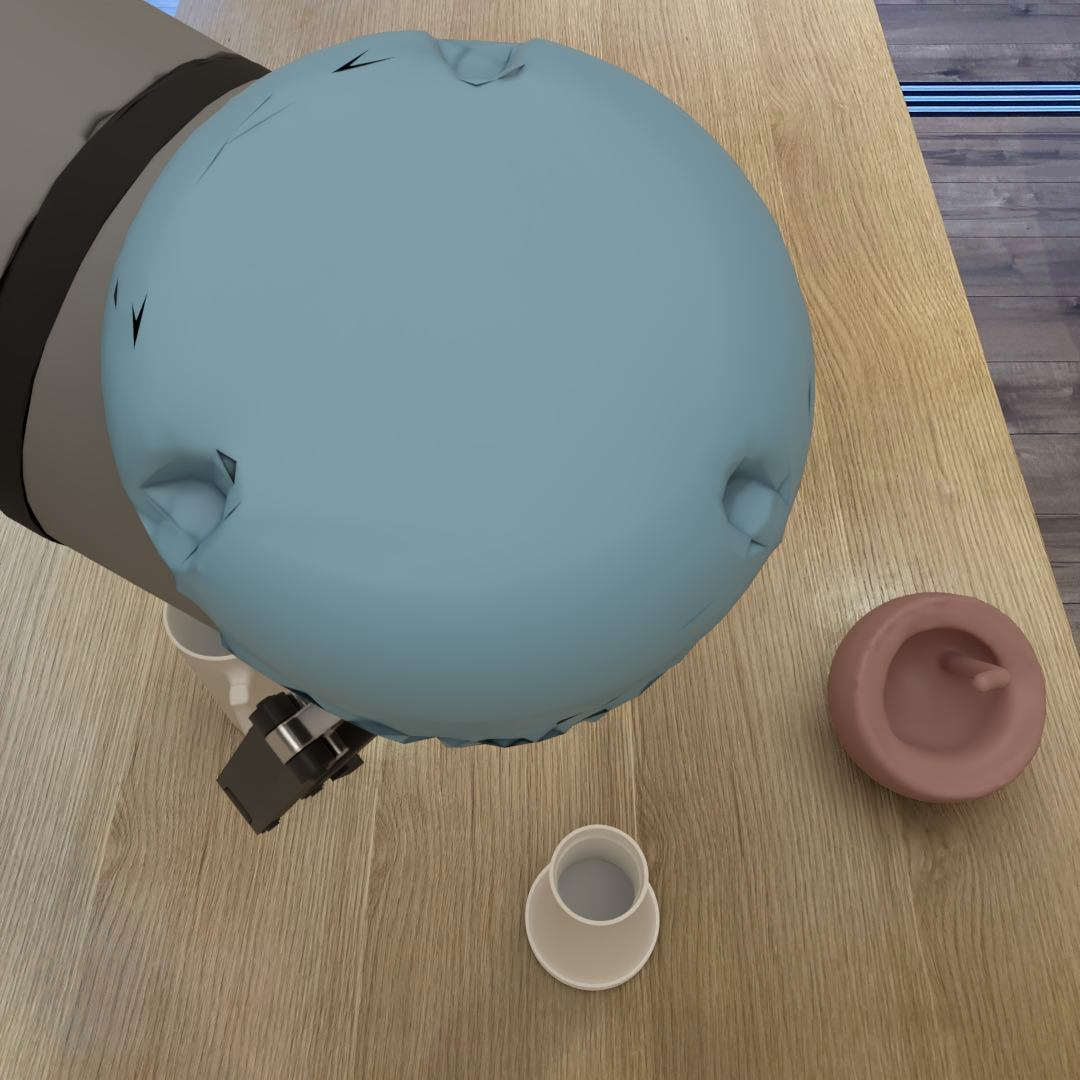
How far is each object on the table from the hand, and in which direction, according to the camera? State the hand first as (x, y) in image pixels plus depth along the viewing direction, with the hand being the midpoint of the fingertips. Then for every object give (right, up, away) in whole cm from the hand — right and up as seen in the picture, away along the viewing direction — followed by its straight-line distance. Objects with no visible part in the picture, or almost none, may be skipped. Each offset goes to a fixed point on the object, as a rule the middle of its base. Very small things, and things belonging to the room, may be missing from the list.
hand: (462, 644), depth 46 cm
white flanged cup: (+6, -17, +13) cm, 23 cm away
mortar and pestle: (+26, -8, +19) cm, 33 cm away
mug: (-13, -7, +20) cm, 25 cm away
